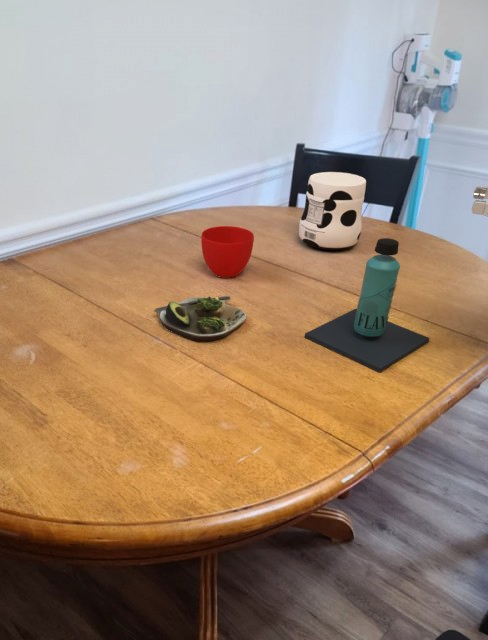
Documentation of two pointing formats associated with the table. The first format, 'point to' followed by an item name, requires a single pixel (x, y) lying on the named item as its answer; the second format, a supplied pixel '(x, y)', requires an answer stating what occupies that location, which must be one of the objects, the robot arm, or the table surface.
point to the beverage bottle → (377, 289)
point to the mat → (367, 342)
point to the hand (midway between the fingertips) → (473, 199)
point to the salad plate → (201, 318)
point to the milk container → (332, 210)
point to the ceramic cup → (227, 249)
